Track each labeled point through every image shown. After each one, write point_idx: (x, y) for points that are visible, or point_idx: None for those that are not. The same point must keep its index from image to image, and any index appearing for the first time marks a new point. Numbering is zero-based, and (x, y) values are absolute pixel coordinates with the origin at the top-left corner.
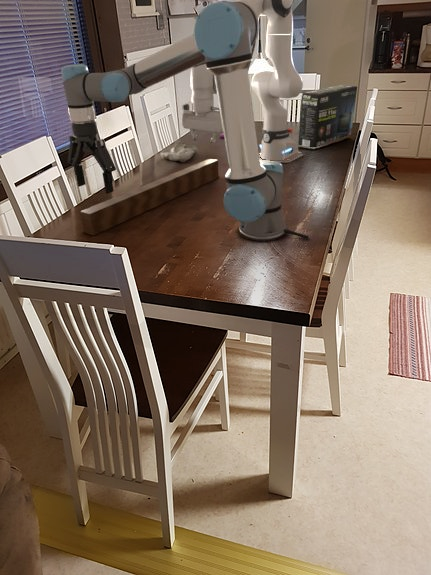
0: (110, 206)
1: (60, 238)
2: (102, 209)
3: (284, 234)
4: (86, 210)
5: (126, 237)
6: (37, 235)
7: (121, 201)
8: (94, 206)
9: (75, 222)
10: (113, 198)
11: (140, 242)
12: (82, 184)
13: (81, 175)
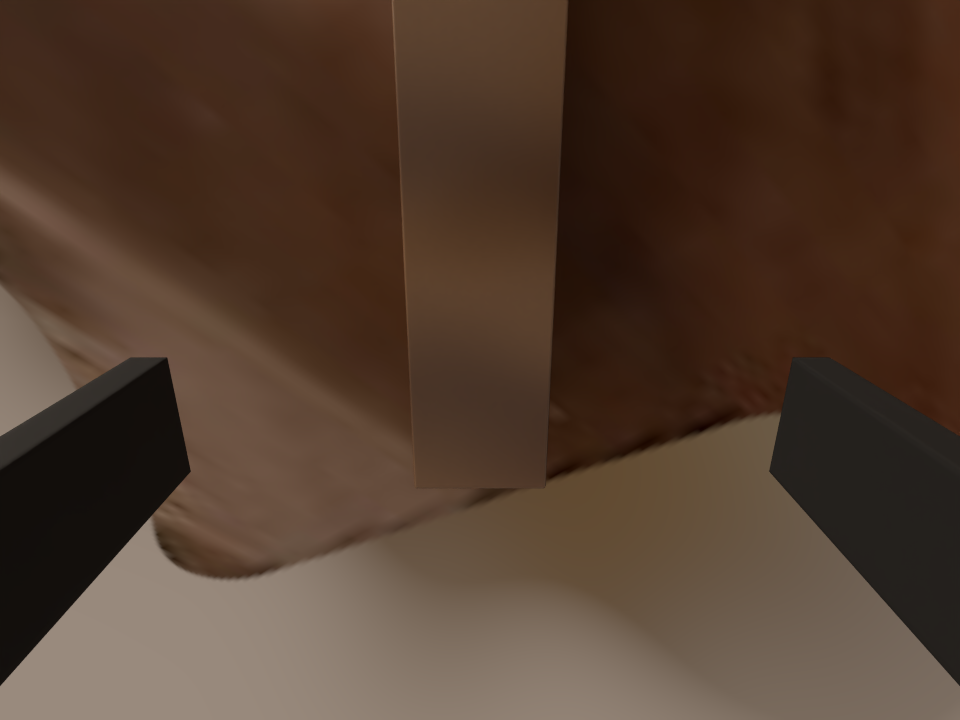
0: (555, 226)
1: (373, 525)
2: (551, 338)
3: None
4: (450, 449)
5: (763, 298)
6: (214, 566)
7: (565, 35)
8: (430, 340)
9: (211, 312)
10: (415, 29)
11: (909, 305)
12: (170, 421)
13: (71, 494)
